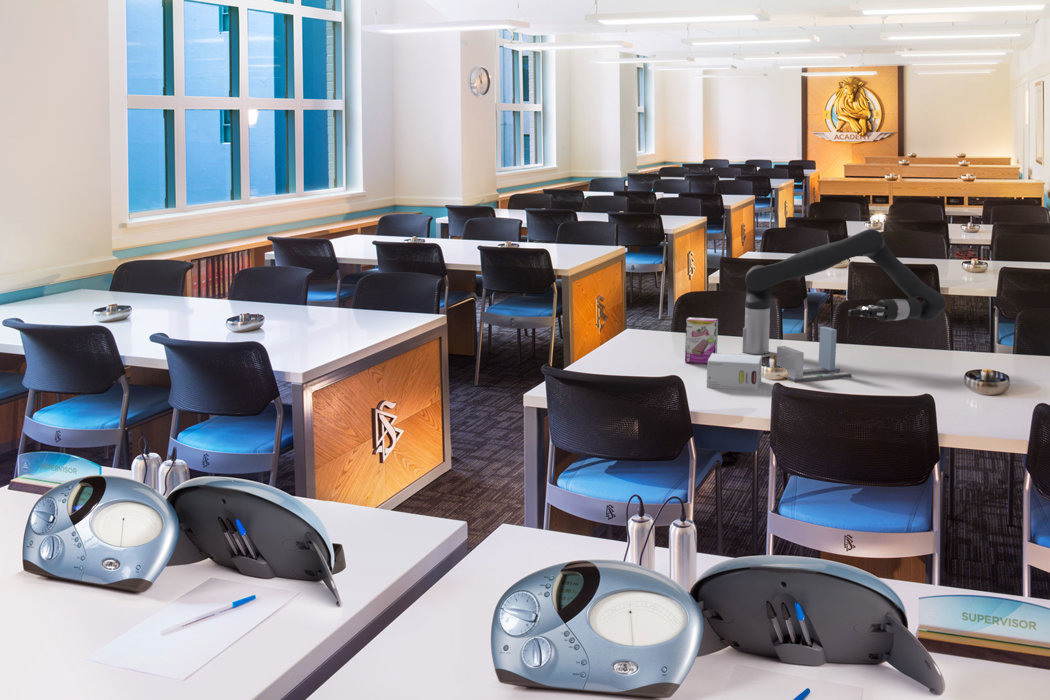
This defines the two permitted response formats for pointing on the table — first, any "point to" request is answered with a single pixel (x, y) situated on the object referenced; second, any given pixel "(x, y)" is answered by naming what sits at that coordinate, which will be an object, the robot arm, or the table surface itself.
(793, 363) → the grey bookend stand
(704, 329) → the candy bar box
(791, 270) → the robot arm
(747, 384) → the supplement box
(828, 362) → the light blue flat block
